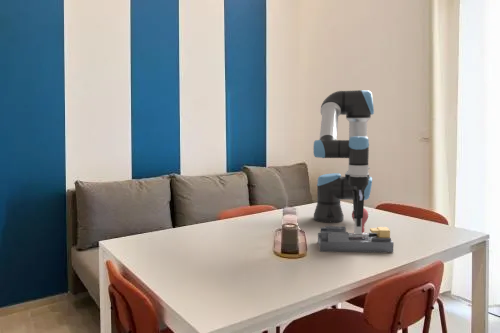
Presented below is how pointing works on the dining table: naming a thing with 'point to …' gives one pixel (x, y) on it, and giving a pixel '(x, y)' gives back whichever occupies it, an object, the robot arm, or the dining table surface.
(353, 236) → the light grey flat bar
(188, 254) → the dining table surface
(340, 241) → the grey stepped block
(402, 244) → the dining table surface
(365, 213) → the light bulb
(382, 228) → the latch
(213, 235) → the dining table surface
